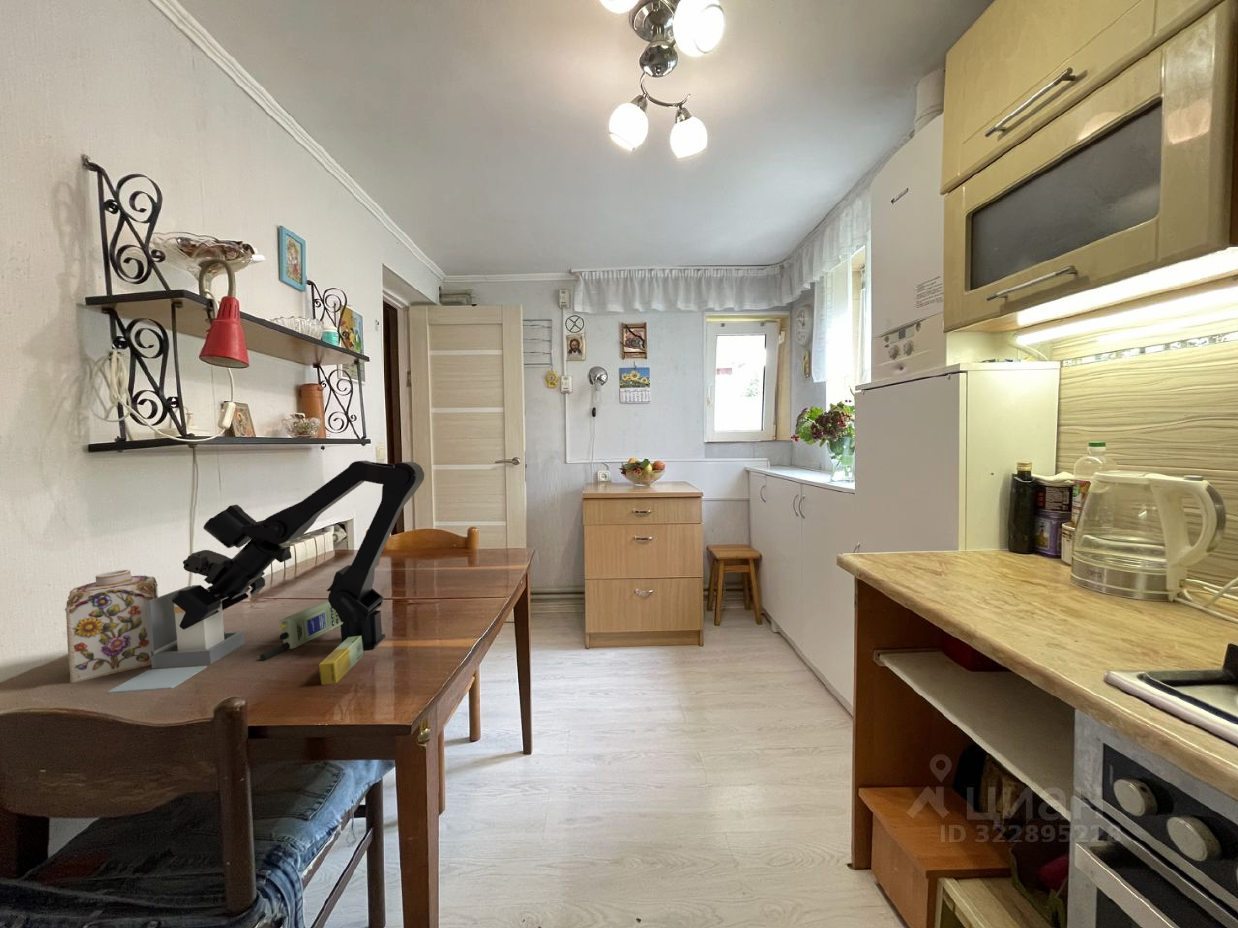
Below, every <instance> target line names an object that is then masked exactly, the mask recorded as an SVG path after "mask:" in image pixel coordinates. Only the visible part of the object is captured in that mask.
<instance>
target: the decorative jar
mask: <svg viewBox="0 0 1238 928" xmlns="http://www.w3.org/2000/svg"><path fill="white" fill-rule="evenodd" d="M158 585H159V584H158V583H157V579H156V577H154V576H148V575H145V574H144V575H132V574H131V570H130V569H121V570H120V569H119V570H114V571H107V572H102V573H100V574H97V575H95V582H91V583H87V584H83V585H80V586H76V587H74V588H73V589H71V590H70V591H69V595H68V597H67V599H68V600H67V601H66V604H65V605H66V606H65V609H64V611H65V614H66V615H65V616H66V618H65V619H66V638H67V639H66V640H67V652H68V653H67V654H68V655H67V656H68V667H69V673H70V674H69V675H70V676H69V677H70V678H69V680H70V683H71V684H74V683H78V682H83V681H88V680H92V679H95V678H99V677H104V676H108V675H112V674H117V673H121V672H126V671H129V670H135V669H138V668H142V667H146V666H152V664H151V655H150V651H151V650H150V637H149V624H148V611H147V601H149V600H152V599H155V598H157V597H159V594H158V593H159V591H158V589H159V588H158Z"/></svg>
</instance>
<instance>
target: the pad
mask: <svg viewBox="0 0 1238 928" xmlns="http://www.w3.org/2000/svg"><path fill="white" fill-rule="evenodd" d="M207 668H208V666H207V665H196V666H182V667H168V668H154V669H148V670H146V671H144V672H141V673H139V674H138V675H136V676H135V677H133V678H131V679H129V680H127V681H126V682H125V681H124V682H123V683H121V684H119V685H117V686H116V687H114V688H111V689H110V690H108V691H107V693H106V694H119V693H130V692H142V691H143V692H145V691H155V690H156V691H158V690H169V689H171V690H173V688H175V687H177V686H178V685H180V684H182V683H183V682H185V681H187V680H188V679H190V678H191V677H193V676H195V675H196V674H198V673H200V672H201V671H203V670H205V669H207Z"/></svg>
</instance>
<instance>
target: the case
mask: <svg viewBox="0 0 1238 928" xmlns="http://www.w3.org/2000/svg"><path fill="white" fill-rule="evenodd" d="M190 586H191V585H189V586H185V587H182V588H180V589H177V590H174V591H172V592H169V593H167V594H164V595H161V596H158V597H157V598H155V599H152V600H149V601H147V611H148V624H149V637H150V650H151V651H150V655H151V664H152V665H151V669H166V668H181V667H195V666H207V665H212V664H214V663H215V662H217V661H219V660H220V659H222V658H223V657H225V656H227V655H229V654H230V653H232V652H233V651H235V650H237V649H238V648H240V647H241V646H244V645H245V644H246V640H245V630H243V631H242V630H240V631H239V630H238V631H237V630H236V631H224V640H223V641H222V642H220V643H218V644H216V645H215V646H213V647H211V648H209V649H201V650H186V651H178V647H177V633H176V620H175V613H174V603H173V602H172V598H173V597H174V596H175V595H176V594H177V592H178V591H180V590H182V589H185V588H188V587H190Z"/></svg>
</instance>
